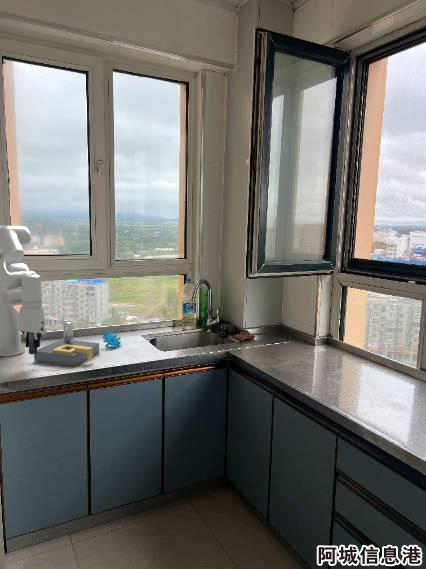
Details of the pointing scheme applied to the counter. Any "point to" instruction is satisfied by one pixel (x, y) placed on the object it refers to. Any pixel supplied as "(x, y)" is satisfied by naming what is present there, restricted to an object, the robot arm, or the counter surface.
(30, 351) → the wedge pin
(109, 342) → the gear
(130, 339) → the counter surface
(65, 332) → the grey fixture base
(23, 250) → the robot arm
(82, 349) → the bracket
